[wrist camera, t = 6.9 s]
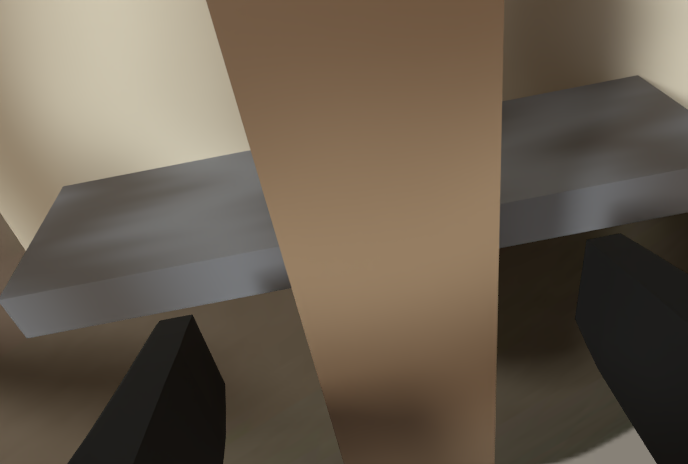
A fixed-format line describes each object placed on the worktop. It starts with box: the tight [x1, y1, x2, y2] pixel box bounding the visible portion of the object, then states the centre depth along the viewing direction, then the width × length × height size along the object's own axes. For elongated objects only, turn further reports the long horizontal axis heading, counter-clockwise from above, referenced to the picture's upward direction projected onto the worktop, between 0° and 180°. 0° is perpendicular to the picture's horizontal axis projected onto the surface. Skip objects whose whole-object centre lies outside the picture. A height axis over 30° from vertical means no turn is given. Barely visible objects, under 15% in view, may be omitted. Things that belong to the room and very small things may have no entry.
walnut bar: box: [206, 0, 504, 464], centre depth 10 cm, size 16×3×4 cm, turn 9°
